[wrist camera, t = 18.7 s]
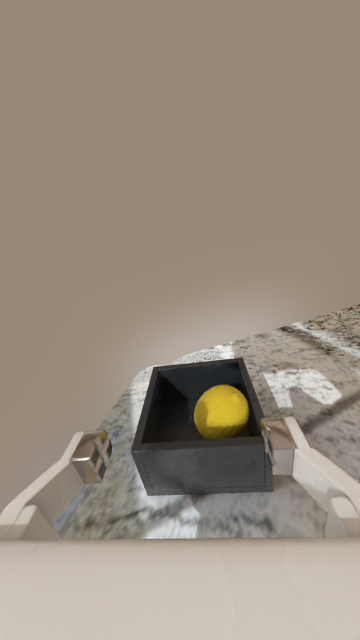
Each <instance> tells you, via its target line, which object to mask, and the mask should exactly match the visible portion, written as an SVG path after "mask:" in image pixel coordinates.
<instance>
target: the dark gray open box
mask: <svg viewBox="0 0 360 640" xmlns="http://www.w3.org/2000/svg"><path fill="white" fill-rule="evenodd" d="M218 385H229V386H232V387H234V388H236V389H238V390H239V391H240V392H241V393H242V394H243V395H244V397H245V398H246V400H247V402H248V405H249V420H248V423H247V425H246V427H245V429H244V430H243V432H242V433H241V434H240V435H239V436H238V437H237V438H223V439H207V440H206V439H205V438H204V437H203V436H202V435H201V434H200V433H199V431H198V430H197V428H196V425H195V421H194V410H195V407H196V404H197V402H198V400H199V399H200V397H201V396H202V395H203V394H204V393H205V392H206V391H207V390H209V389H211V388H212V387H214V386H218ZM261 418H265V417H264V415H263V412H262V409H261V407H260V404H259V401H258V398H257V396H256V393H255V390H254V388H253V385H252V382H251V379H250V377H249V374H248V371H247V369H246V366H245V363H244V360H243V358H235V359H226V360H216V361H207V362H198V363H188V364H179V365H169V366H160V367H154V368H153V371H152V375H151V379H150V382H149V386H148V390H147V394H146V397H145V401H144V405H143V409H142V412H141V416H140V420H139V423H138V427H137V431H136V435H135V438H134V442H133V446H132V449H131V454H132V456H133V459H134V461H135V464H136V466H137V469H138V472H139V474H140V477H141V479H142V482H143V484H144V487H145V489H146V492H147V494H148V496H155V495H184V494H214V493H243V492H273V475H272V471H271V468H270V465H269V462H268V453H266V452H265V450H264V446H263V442H262V437H261V430H262V426H261Z"/></svg>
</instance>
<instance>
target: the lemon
mask: <svg viewBox="0 0 360 640" xmlns="http://www.w3.org/2000/svg"><path fill="white" fill-rule="evenodd" d="M248 420H249V405H248V402H247V400H246V398H245V397H244V395H243V394H242V393H241V392H240V391H239V390H238V389H236V388H234V387H232V386H229V385H218V386H214V387H212V388H211V389H209V390H207V391H206V392H205V393H204V394H203V395H202V396H201V397H200V399H199V400H198V402H197V404H196V407H195V410H194V421H195V425H196V428H197V430H198V431H199V433H200V434H201V435H202V436H203V437H204V438H205V439H206V440H207V439H223V438H237V437H238V436H239V435H240V434H241V433H242V432H243V430H244V429H245V427H246V425H247V423H248Z"/></svg>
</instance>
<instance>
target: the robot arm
mask: <svg viewBox="0 0 360 640" xmlns="http://www.w3.org/2000/svg"><path fill="white" fill-rule="evenodd" d="M261 426H262V430H261V437H262V442H263V446H264V450H265V452H266V453H268V462H269V465H270V468H271V471H272V475H292V477H293V478H294V479H295V480H296V481H297V482H298V483H299V484H300V485H301V486H302V487H303V488H304V489H305V491H306V492H307V493H308V494H309V495H310V496H311V497H312V498H313V499H314V500H315V501H316V502H317V504H318V505H319V506H320V507H321V508H322V509H323V510H324V511H325V512H326V513H327V514H328V515H327V519H326V524H325V528H324V534H325V537H317V538H208V539H99V540H57V538H58V536H59V535H58V532H57V530H56V529H55V528H54V527H53V524H54V523H55V521H56V520H57V519H58V518H59V517H60V515H61V514H62V513H63V512H64V510H65V509H66V508H67V507H68V506H69V504H70V503H71V502H72V501H73V499H74V498H75V497H76V496H77V494H78V493H79V492H80V491H81V490H82V488H83V487H84V486H85V484H90V483H101V482H102V479H103V476H104V473H105V470H106V466H105V464H106V463H107V462H108V461H109V459H110V456H111V451H112V445H111V441H110V440H109V439H108V438H106V437H107V432H106V430H96V431H78V432H77V433H75V435H74V436H73V438H72V440H71V442H70V443H69V445H68V447H67V449H66V451H65V453H64V454H63V456H62V458H61V460H60V461H59V462H56V463H55V464H54V465H53V466H51V467H50V468H49V469H48V470H47V471H46V472H44V473H43V474H42V475H41V476H40V477H39V478H38V479H36V480H35V481H34V482H33V483H32V484H31V485H29V486H28V487H27V488H26V489H25V490H24V491H22V492H21V493H20V494H19V495H18V496H17V497H16V498H14V500H12V501H11V502H10V503H9V504H8V505H7V506H6V508H5V509H4V511H3V512H2V514H1V515H0V640H360V482H358V481H357V480H356V479H355V478H353V477H352V476H351V475H349V474H348V473H347V472H345V471H344V470H343V469H341V468H340V467H339V466H338V465H336V464H335V463H334V462H332V461H331V460H330V459H328V458H327V457H326V456H324V455H323V454H322V453H321V452H319V451H318V450H317V449H315V448H311V447H310V445H309V443H308V441H307V439H306V438H305V436H304V434H303V432H302V430H301V428H300V426H299V424H298V423H297V421H296V419H295V417H293V416H288V417H273V418H261Z"/></svg>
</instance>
